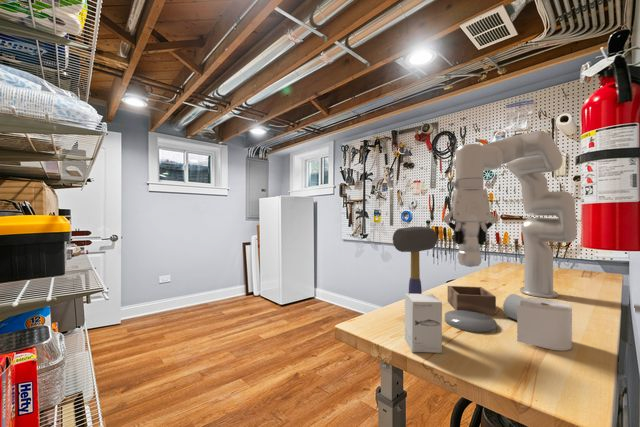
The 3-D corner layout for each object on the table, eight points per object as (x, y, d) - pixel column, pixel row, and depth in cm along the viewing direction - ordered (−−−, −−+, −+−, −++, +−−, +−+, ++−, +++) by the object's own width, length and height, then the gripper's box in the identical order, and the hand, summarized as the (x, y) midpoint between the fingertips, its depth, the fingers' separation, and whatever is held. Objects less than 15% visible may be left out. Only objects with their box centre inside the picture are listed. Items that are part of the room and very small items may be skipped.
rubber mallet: (409, 336, 76) (409, 227, 76) (390, 326, 83) (390, 226, 83) (439, 327, 82) (439, 226, 82) (419, 318, 89) (419, 225, 89)
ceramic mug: (528, 328, 81) (529, 302, 81) (502, 318, 89) (502, 294, 89) (552, 324, 85) (553, 299, 85) (525, 315, 93) (525, 292, 93)
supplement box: (411, 353, 67) (411, 301, 67) (404, 339, 75) (404, 292, 75) (442, 354, 67) (442, 301, 67) (432, 339, 74) (432, 292, 74)
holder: (447, 301, 106) (447, 285, 106) (481, 303, 104) (481, 287, 104) (457, 312, 95) (457, 294, 94) (495, 314, 92) (495, 296, 92)
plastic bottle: (461, 268, 83) (462, 201, 82) (454, 264, 89) (454, 201, 89) (485, 268, 82) (485, 200, 81) (476, 264, 88) (476, 201, 88)
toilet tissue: (574, 341, 73) (574, 303, 73) (568, 358, 65) (568, 315, 65) (525, 329, 81) (525, 295, 81) (514, 342, 73) (514, 304, 73)
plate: (440, 313, 94) (439, 309, 94) (485, 316, 91) (485, 311, 91) (451, 330, 80) (451, 325, 80) (505, 334, 77) (505, 329, 77)
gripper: (442, 184, 83) (442, 245, 83) (506, 183, 80) (506, 246, 80) (436, 187, 91) (436, 242, 91) (494, 186, 87) (494, 243, 88)
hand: (469, 243), depth 85 cm, fingers closed on plastic bottle, 5 cm apart
